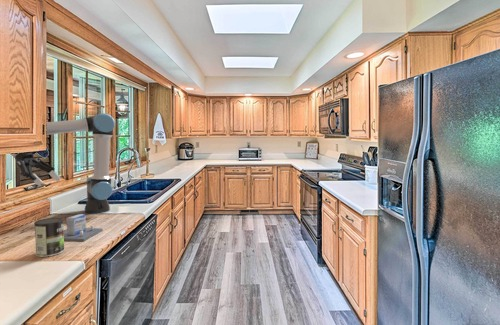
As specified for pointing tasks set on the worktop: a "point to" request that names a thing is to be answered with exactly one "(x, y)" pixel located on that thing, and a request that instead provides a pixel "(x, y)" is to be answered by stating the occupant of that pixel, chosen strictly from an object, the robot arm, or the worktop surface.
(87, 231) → the pin tray
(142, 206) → the worktop surface
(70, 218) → the medicine box
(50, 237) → the coffee can
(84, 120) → the robot arm
